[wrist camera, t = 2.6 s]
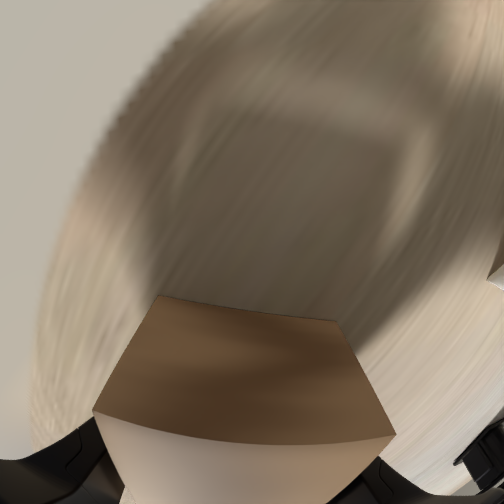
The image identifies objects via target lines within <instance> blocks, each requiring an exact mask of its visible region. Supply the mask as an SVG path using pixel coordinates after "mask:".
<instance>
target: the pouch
mask: <svg viewBox="0 0 504 504" xmlns="http://www.w3.org/2000/svg"><path fill="white" fill-rule="evenodd" d="M487 281H488V282H489V283H491V284H493V285H495V286H497V287H498V288H499V289H501V290H503V291H504V264H503V265H502V266H501V267H500V268H499V269H498V270H497V271H495V272H494V273H493V274H492V275H491V276H489V277H488V279H487Z"/></svg>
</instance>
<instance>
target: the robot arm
mask: <svg viewBox="0 0 504 504" xmlns="http://www.w3.org/2000/svg"><path fill="white" fill-rule="evenodd" d="M78 428H79V429H78ZM78 428H77V429H75V430H74V431H73V432H71V433H70V434H68V435H67V436H65V437H64V438H62V439H61V440H59V441H57V442H56V443H54V444H52V445H50V446H48V447H46V448H44V449H42V450H40V451H38V452H36V453H34V454H32V455H30V456H28V457H26V458H23V459H18V460H3V459H0V504H119V502H120V499H121V496H122V493H123V490H124V488H125V485H124V483H123V481H122V479H121V477H120V475H119V473H118V471H117V469H116V467H115V465H114V463H113V461H112V459H111V457H110V454H109V452H108V450H107V448H106V445H105V443H104V441H103V438H102V436H101V433H100V431H99V428H98V425H97V423H96V420H95V417H94V416H93V417H92V418H90V419H89V420H88V421H86V422H85V423H84V424H82V425H81V426H80V427H78ZM462 462H463V463H464V464H465V466H466V468H467V470H468V471H469V473H470V475H471V477H472V479H473V480H474V482H476V483H477V485H478V487H479V489H480V490H482V489H483V490H482V491H480V492H479V493H478V494H476V495H474V496H444V495H433V494H430V493H427V492H425V491H424V490H422V489H420V488H419V487H417V486H416V485H414V484H413V483H411V482H410V481H409V480H407V479H406V478H404V477H403V476H402V475H400V474H399V473H398V472H396V471H395V470H394V469H393V468H392V467H390V466H389V465H388V464H387V463H386V462H385V461H384V460H381V458H380V457H379V456H377V457H376V458H375V459H374V460H373V461H372V462H371V463H370V464H369V465H368V466H367V467H366V468H365V469H364V470H363V471H362V472H361V473H360V474H359V475H358V476H357V477H356V478H355V479H354V480H353V481H352V482H351V483H350V484H349V485H347V486H346V487H345V488H344V489H343V490H342V491H341V492H339V493H338V494H337V495H336V496H335V497H333V498H332V499H331V500H330V501H329V502H327V503H326V504H504V482H503V483H502V484H501V485H499V486H498V487H497V488H493V487H494V486H495V485H496V484H497V483H499V482H500V481H501V480H502V479H503V478H504V419H503V420H501V421H499V422H497V423H496V424H494V425H492V426H490V427H488V428H487V429H486V430H485V431H484V432H483V433H482V434H481V435H480V437H479V438H478V439H477V440H476V441H475V442H474V443H473V444H472V445H471V446H470V447H469V448H468V449H467V450H466V451H465V452H464V453H463V454H462V455H461V456H460V457H459V458H458V459H457V460H456V461H455V462H454V463H453V465H454V466H456V465H458V464H460V463H462Z"/></svg>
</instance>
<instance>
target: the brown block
mask: <svg viewBox="0 0 504 504" xmlns="http://www.w3.org/2000/svg"><path fill="white" fill-rule="evenodd" d="M92 412H93V415H94V417H95V420H96V423H97V425H98V428H99V431H100V433H101V436H102V438H103V441H104V443H105V445H106V448H107V450H108V452H109V454H110V457H111V459H112V461H113V463H114V465H115V467H116V469H117V471H118V473H119V475H120V477H121V479H122V481H123V483H124V485H125V486H126V488H127V490H128V492H129V494H130V495H131V497H132V499H133V500H134V502H135V504H326V503H327V502H329V501H330V500H331V499H332V498H333V497H335V496H336V495H337V494H338V493H339V492H341V491H342V490H343V489H344V488H345V487H346V486H347V485H349V484H350V483H351V482H352V481H353V480H354V479H355V478H356V477H357V476H358V475H359V474H360V473H361V472H362V471H363V470H364V469H365V468H366V467H367V466H368V465H369V464H370V463H371V462H372V461H373V460H374V459H375V458H376V457H377V456H378V455H379V454H380V453H381V452H382V451H383V449H384V448H385V447H386V446H387V445H388V444H389V443H390V442H391V440H392V439H393V438H394V437H395V436H396V432H395V430H394V428H393V426H392V424H391V422H390V420H389V418H388V417H387V415H386V413H385V411H384V409H383V407H382V405H381V403H380V401H379V399H378V397H377V395H376V393H375V391H374V390H373V388H372V386H371V384H370V382H369V380H368V378H367V376H366V375H365V373H364V371H363V369H362V367H361V365H360V363H359V362H358V360H357V358H356V356H355V354H354V353H353V351H352V349H351V347H350V345H349V344H348V342H347V340H346V338H345V336H344V335H343V333H342V331H341V329H340V328H339V326H338V324H337V322H336V321H327V320H317V319H307V318H298V317H290V316H282V315H274V314H267V313H259V312H252V311H245V310H239V309H232V308H226V307H220V306H214V305H208V304H202V303H196V302H191V301H185V300H180V299H174V298H169V297H164V296H159V295H158V297H157V299H156V300H155V302H154V303H153V305H152V306H151V308H150V310H149V311H148V313H147V314H146V316H145V318H144V319H143V321H142V323H141V324H140V326H139V327H138V329H137V331H136V332H135V334H134V336H133V337H132V339H131V341H130V343H129V344H128V346H127V348H126V349H125V351H124V353H123V354H122V356H121V358H120V360H119V361H118V363H117V365H116V367H115V368H114V370H113V372H112V374H111V375H110V377H109V379H108V381H107V383H106V385H105V386H104V388H103V390H102V392H101V394H100V396H99V397H98V399H97V401H96V403H95V405H94V407H93V409H92Z"/></svg>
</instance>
